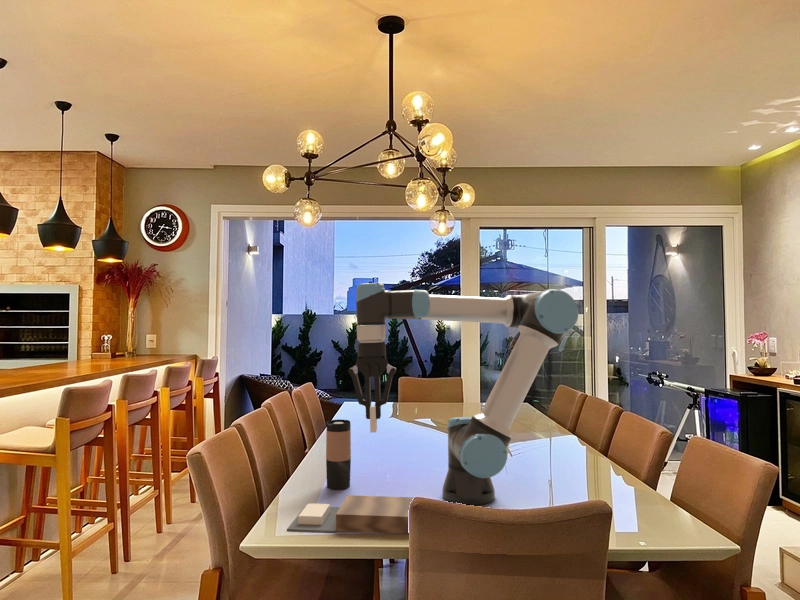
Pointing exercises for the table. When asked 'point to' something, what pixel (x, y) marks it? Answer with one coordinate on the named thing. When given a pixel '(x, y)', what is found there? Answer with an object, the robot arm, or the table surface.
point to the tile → (314, 514)
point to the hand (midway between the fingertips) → (373, 431)
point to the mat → (327, 525)
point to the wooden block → (374, 514)
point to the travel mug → (338, 454)
